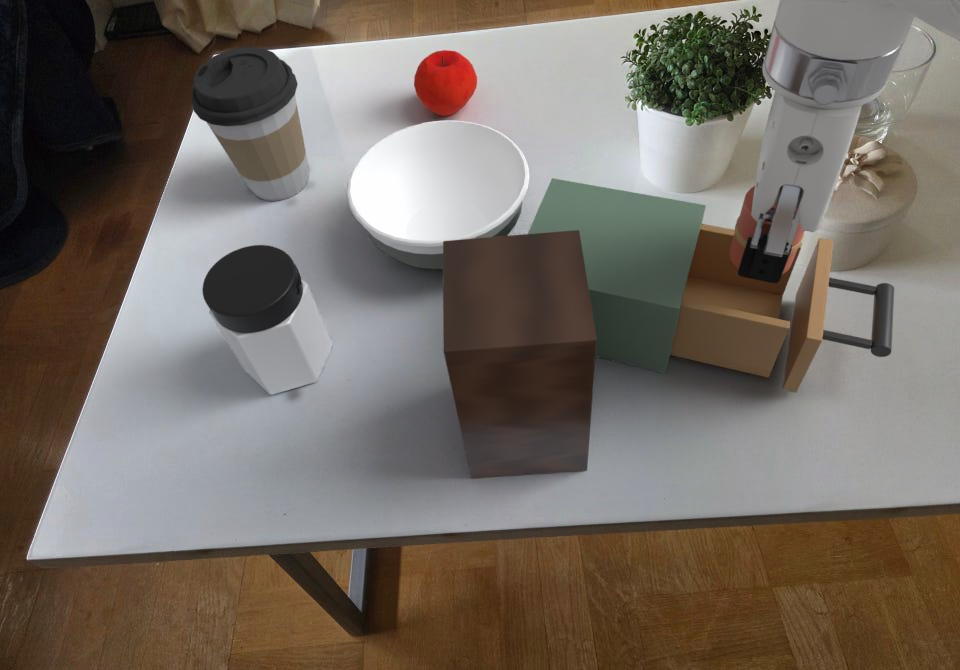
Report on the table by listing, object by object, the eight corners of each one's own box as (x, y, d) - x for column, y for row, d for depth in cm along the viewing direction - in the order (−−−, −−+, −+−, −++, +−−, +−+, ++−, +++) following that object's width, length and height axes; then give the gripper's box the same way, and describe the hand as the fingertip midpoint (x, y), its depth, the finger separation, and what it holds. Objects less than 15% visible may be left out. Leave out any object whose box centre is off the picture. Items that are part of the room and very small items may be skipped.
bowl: (531, 297, 74) (529, 241, 68) (351, 301, 76) (332, 246, 69) (531, 174, 85) (529, 115, 79) (374, 179, 87) (359, 122, 80)
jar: (349, 355, 72) (317, 275, 62) (284, 410, 69) (240, 334, 59) (294, 310, 76) (256, 228, 66) (230, 359, 73) (180, 280, 63)
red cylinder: (796, 240, 62) (817, 186, 57) (789, 285, 59) (810, 233, 54) (733, 228, 63) (748, 175, 58) (723, 272, 60) (738, 220, 55)
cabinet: (690, 274, 74) (706, 204, 67) (665, 373, 67) (679, 308, 60) (552, 246, 78) (552, 177, 70) (515, 337, 71) (510, 272, 64)
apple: (472, 130, 91) (466, 78, 85) (411, 126, 92) (401, 75, 87) (485, 91, 96) (480, 39, 90) (426, 88, 97) (418, 37, 91)
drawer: (873, 309, 69) (905, 252, 62) (867, 409, 63) (901, 357, 56) (668, 268, 74) (678, 212, 68) (643, 357, 68) (652, 304, 61)
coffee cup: (252, 148, 92) (206, 40, 80) (337, 151, 91) (304, 41, 79) (219, 211, 86) (164, 103, 74) (311, 216, 84) (269, 106, 72)
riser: (574, 373, 68) (579, 229, 53) (587, 470, 62) (597, 339, 47) (468, 381, 69) (442, 240, 54) (470, 478, 63) (443, 351, 48)
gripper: (889, 149, 40) (799, 342, 55) (899, -12, 49) (820, 190, 64) (748, 128, 42) (698, 319, 57) (783, -23, 51) (732, 175, 66)
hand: (763, 249), depth 60 cm, fingers closed on red cylinder, 5 cm apart
